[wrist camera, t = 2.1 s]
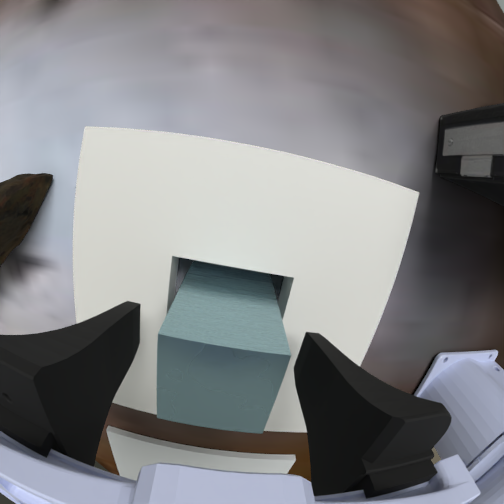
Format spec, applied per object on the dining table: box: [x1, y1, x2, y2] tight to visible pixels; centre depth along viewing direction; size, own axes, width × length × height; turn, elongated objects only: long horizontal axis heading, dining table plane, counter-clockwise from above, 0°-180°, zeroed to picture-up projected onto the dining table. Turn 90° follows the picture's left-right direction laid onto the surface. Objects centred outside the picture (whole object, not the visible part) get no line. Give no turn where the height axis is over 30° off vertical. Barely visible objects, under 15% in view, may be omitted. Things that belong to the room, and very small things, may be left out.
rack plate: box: [73, 127, 419, 432], centre depth 14 cm, size 16×16×2 cm
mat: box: [106, 425, 296, 481], centre depth 20 cm, size 16×10×1 cm, turn 79°
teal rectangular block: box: [157, 261, 291, 434], centre depth 12 cm, size 4×4×7 cm
